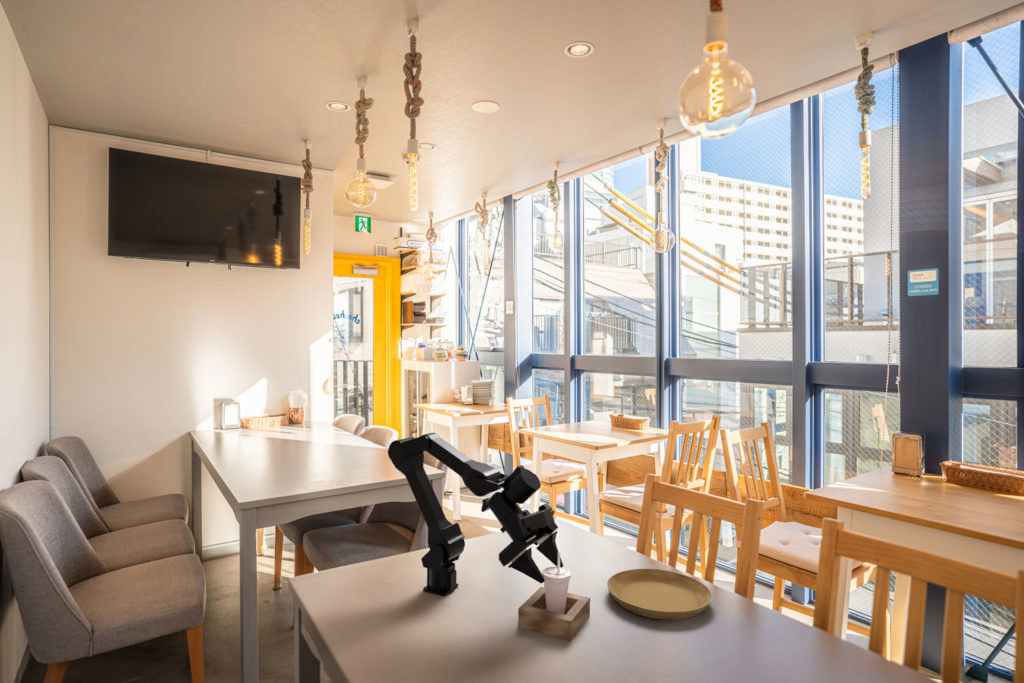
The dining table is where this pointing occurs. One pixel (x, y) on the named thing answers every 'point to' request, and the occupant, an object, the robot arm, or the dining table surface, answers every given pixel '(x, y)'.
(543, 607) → the caddy
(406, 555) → the dining table surface
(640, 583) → the plant saucer
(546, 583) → the smoothie
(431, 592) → the robot arm
